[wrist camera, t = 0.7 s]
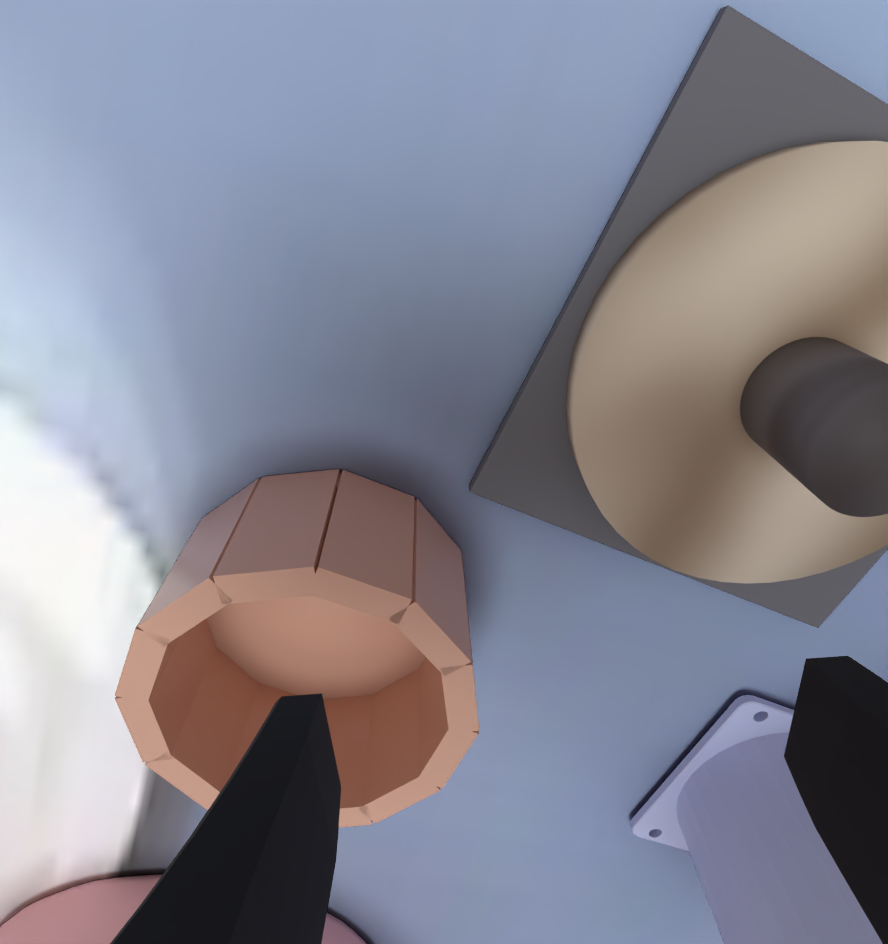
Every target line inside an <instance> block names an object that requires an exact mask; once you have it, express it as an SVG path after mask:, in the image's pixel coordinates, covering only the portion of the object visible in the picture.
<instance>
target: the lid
mask: <svg viewBox="0 0 888 944" xmlns="http://www.w3.org/2000/svg"><path fill="white" fill-rule="evenodd" d="M566 411H567V423H568V433H569V438H570V442H571V446H572V450H573V455H574V458H575V460H576V463H577V465H578V468H579V470H580V473H581V475H582V478H583V480H584V482H585V484H586V486H587V488H588V490H589V492H590V494H591V496H592V498H593V500H594V501H595V503H596V505H597V506H598V508H599V510H600V511H601V513H602V515H603V516H604V517H605V518H606V519H607V521H608V522H609V523H610V524H611V526H612V527H613V528H614V529H615V530H616V532H617V533H618V534H620V535H621V536H622V537H623V538H624V539H625V540H626V541H627V542H629V543H630V544H631V545H632V546H633V547H634V548H636V549H637V550H639V551H640V552H642V553H643V554H645V555H646V556H648V557H649V558H651V559H652V560H654V561H656V562H658V563H660V564H662V565H665V566H667V567H669V568H671V569H673V570H675V571H679V572H682V573H685V574H688V575H691V576H694V577H697V578H703V579H708V580H714V581H719V582H730V583H745V584H749V583H772V582H779V581H786V580H792V579H799V578H803V577H807V576H811V575H815V574H819V573H823V572H826V571H829V570H832V569H835V568H837V567H840V566H843V565H846V564H849V563H851V562H854V561H856V560H858V559H860V558H862V557H864V556H867V555H869V554H871V553H873V552H875V551H877V550H879V549H881V548H883V547H884V546H886V545H888V142H883V141H842V142H817V143H811V144H806V145H800V146H794V147H789V148H784V149H780V150H777V151H774V152H771V153H768V154H765V155H762V156H758V157H755V158H752V159H750V160H747V161H745V162H743V163H741V164H739V165H737V166H734V167H732V168H730V169H728V170H726V171H724V172H721V173H719V174H717V175H716V176H714V177H712V178H711V179H709V180H708V181H706V182H704V183H703V184H701V185H700V186H698V187H696V188H695V189H693V190H691V191H690V192H688V193H687V194H686V195H684V196H683V197H682V198H680V199H679V200H678V201H677V202H675V203H674V204H673V205H672V206H670V207H669V208H668V209H667V210H665V211H664V212H663V213H662V214H660V215H659V216H658V217H657V218H656V219H655V220H654V221H653V222H652V223H651V224H650V225H649V226H648V227H647V228H646V229H645V230H644V231H643V232H642V233H641V234H640V235H639V236H638V237H637V238H636V239H635V240H634V241H633V242H632V244H631V245H630V246H629V248H628V249H627V250H626V251H625V253H624V254H623V255H622V256H621V258H620V259H619V260H618V261H617V263H616V264H615V265H614V266H613V268H612V269H611V271H610V273H609V274H608V276H607V277H606V279H605V281H604V282H603V284H602V285H601V287H600V289H599V290H598V292H597V293H596V295H595V297H594V299H593V302H592V304H591V306H590V308H589V310H588V312H587V314H586V316H585V319H584V321H583V323H582V326H581V329H580V332H579V335H578V338H577V341H576V344H575V347H574V350H573V354H572V360H571V365H570V370H569V375H568V382H567V400H566Z"/></svg>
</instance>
